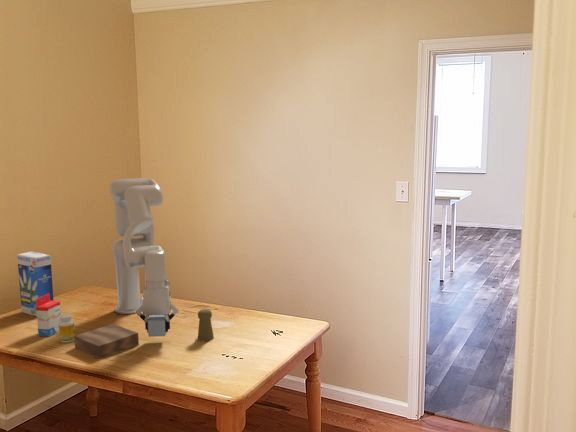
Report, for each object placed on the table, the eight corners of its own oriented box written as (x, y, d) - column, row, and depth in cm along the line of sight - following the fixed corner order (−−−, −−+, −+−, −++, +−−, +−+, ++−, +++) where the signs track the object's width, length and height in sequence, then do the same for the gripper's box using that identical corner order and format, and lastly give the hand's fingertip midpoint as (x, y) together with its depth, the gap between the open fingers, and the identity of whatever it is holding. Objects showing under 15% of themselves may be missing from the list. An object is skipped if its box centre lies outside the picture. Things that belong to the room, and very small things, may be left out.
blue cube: (167, 330, 214) (166, 314, 212) (165, 336, 208) (164, 320, 207) (151, 330, 213) (150, 315, 212) (148, 336, 207) (147, 321, 206)
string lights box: (21, 312, 247) (16, 254, 243) (36, 307, 253) (32, 251, 250) (40, 317, 240) (35, 257, 236) (55, 312, 247) (51, 254, 243)
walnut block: (113, 336, 219) (112, 323, 218) (138, 345, 209) (138, 332, 208) (75, 349, 206) (74, 335, 206) (100, 359, 196) (99, 346, 196)
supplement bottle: (59, 339, 215) (57, 314, 214) (74, 336, 217) (72, 312, 216) (60, 344, 210) (58, 319, 209) (76, 341, 213) (74, 316, 211)
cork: (200, 342, 210) (199, 313, 209) (195, 337, 216) (194, 309, 214) (216, 339, 213) (215, 311, 211) (210, 334, 218) (209, 306, 217)
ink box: (49, 337, 218) (46, 299, 215) (38, 336, 218) (35, 299, 216) (62, 329, 226) (59, 293, 224) (51, 328, 227) (48, 292, 225)
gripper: (181, 280, 211) (182, 326, 215) (133, 281, 210) (135, 328, 213) (178, 286, 204) (180, 334, 207) (129, 287, 203) (132, 335, 206)
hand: (157, 330), depth 210 cm, fingers closed on blue cube, 6 cm apart
